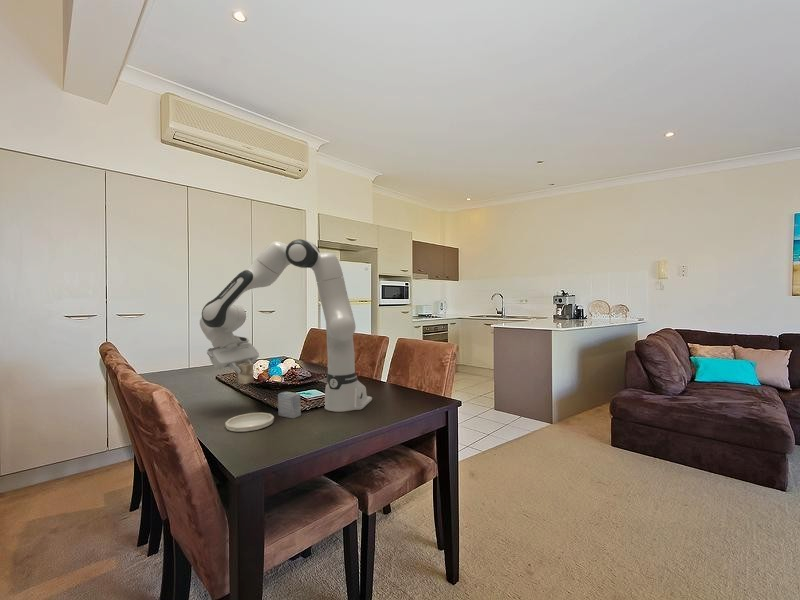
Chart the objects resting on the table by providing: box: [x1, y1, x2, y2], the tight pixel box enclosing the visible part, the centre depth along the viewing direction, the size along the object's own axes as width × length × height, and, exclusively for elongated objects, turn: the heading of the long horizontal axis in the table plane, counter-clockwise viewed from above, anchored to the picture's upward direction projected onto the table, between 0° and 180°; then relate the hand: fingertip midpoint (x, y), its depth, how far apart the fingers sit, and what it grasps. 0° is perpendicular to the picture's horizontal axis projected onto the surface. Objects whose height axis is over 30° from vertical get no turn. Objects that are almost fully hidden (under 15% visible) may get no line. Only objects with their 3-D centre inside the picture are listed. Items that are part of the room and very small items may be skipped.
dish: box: [224, 412, 275, 433], centre depth 139 cm, size 16×16×2 cm
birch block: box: [237, 363, 255, 385], centre depth 152 cm, size 4×4×7 cm
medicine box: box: [277, 391, 302, 419], centre depth 148 cm, size 8×4×9 cm, turn 59°
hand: (245, 371), depth 151 cm, fingers closed on birch block, 4 cm apart
